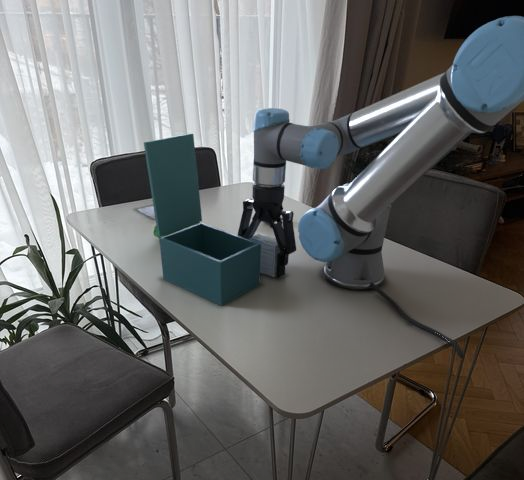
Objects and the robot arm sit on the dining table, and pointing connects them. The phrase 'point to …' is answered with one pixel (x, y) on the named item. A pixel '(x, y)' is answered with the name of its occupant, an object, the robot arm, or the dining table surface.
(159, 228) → the lunchbox lid
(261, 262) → the medicine box
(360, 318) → the dining table surface
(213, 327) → the dining table surface
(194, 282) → the box
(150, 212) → the architectural model
